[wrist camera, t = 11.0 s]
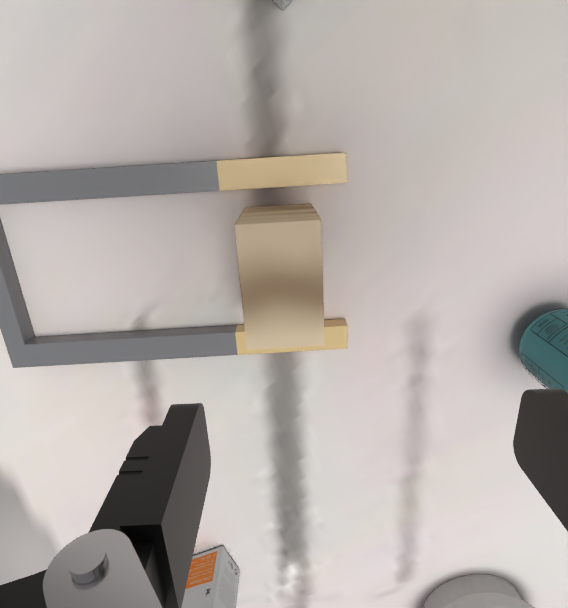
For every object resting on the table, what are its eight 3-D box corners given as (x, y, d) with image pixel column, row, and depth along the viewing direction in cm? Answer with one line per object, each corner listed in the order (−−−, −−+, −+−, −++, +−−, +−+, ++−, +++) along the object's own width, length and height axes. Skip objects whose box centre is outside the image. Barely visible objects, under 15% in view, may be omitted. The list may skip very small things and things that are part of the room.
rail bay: (-33, 176, 30) (-49, 177, 29) (343, 152, 30) (346, 152, 29) (23, 359, 35) (13, 367, 34) (344, 340, 35) (347, 348, 34)
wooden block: (245, 207, 31) (234, 225, 24) (311, 203, 31) (321, 219, 24) (254, 306, 34) (246, 349, 27) (314, 302, 34) (324, 345, 26)
